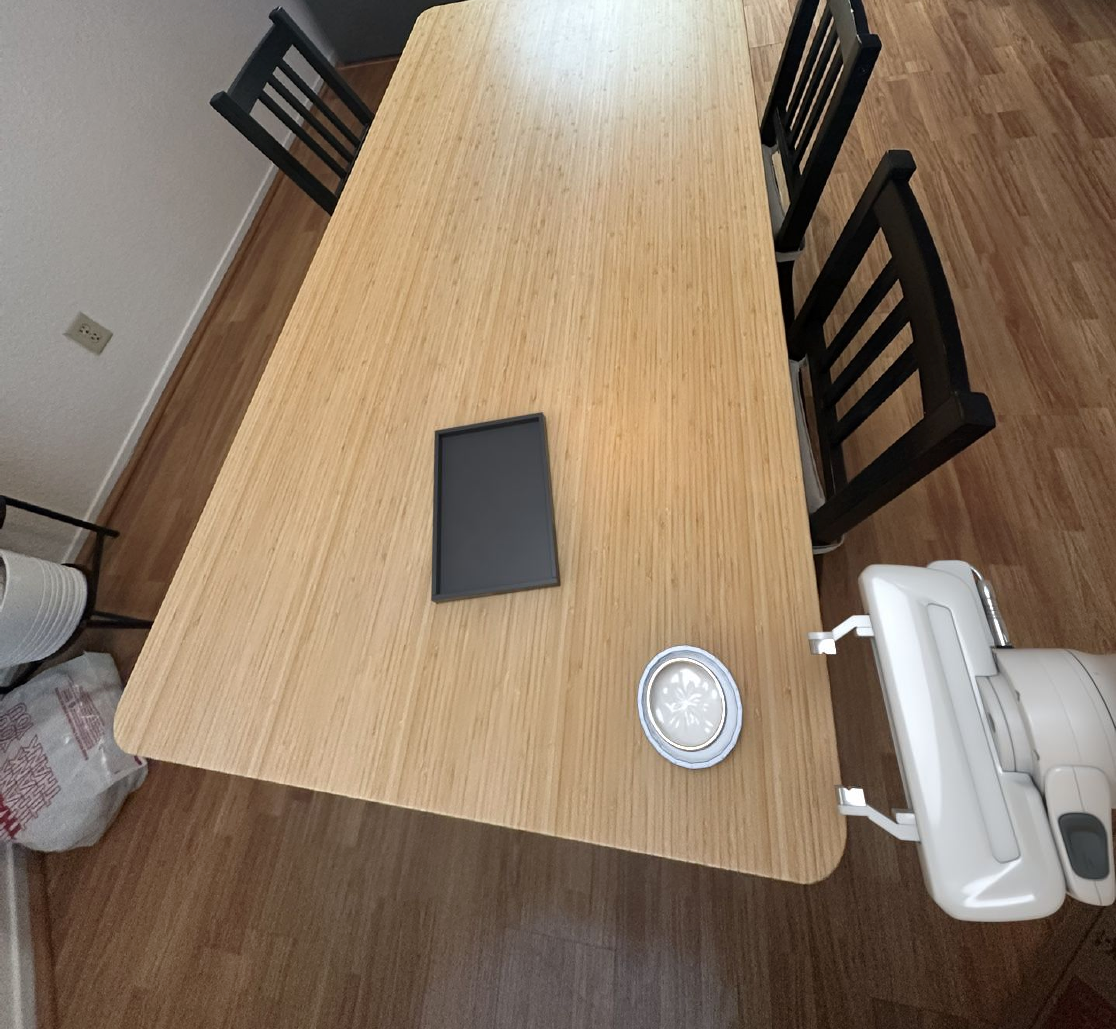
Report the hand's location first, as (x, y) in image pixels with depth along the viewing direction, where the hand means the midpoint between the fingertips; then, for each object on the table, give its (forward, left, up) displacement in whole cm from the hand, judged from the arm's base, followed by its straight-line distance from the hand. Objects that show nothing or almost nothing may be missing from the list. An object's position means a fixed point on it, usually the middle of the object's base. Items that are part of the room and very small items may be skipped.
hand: (821, 716), depth 46 cm
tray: (+25, +30, -20) cm, 44 cm away
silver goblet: (+2, +10, -20) cm, 22 cm away
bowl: (+2, +10, -20) cm, 23 cm away
